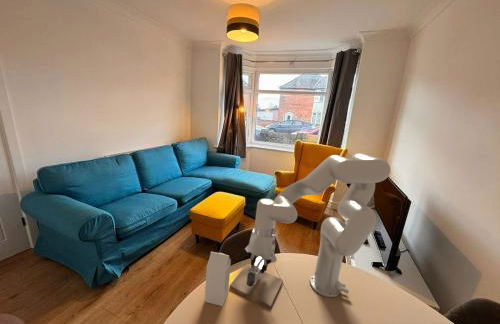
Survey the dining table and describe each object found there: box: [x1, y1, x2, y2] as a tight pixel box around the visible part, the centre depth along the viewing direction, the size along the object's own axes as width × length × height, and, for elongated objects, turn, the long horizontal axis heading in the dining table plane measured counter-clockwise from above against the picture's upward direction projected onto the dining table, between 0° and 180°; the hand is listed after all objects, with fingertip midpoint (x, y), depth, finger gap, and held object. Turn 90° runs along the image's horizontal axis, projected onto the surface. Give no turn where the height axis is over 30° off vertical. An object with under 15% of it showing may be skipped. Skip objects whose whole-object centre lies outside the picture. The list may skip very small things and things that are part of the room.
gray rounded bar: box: [246, 256, 269, 286], centre depth 86 cm, size 15×4×4 cm, turn 153°
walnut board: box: [228, 264, 284, 310], centre depth 88 cm, size 18×15×2 cm
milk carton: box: [204, 251, 232, 307], centre depth 79 cm, size 7×7×19 cm
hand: (258, 268), depth 87 cm, fingers closed on gray rounded bar, 4 cm apart
